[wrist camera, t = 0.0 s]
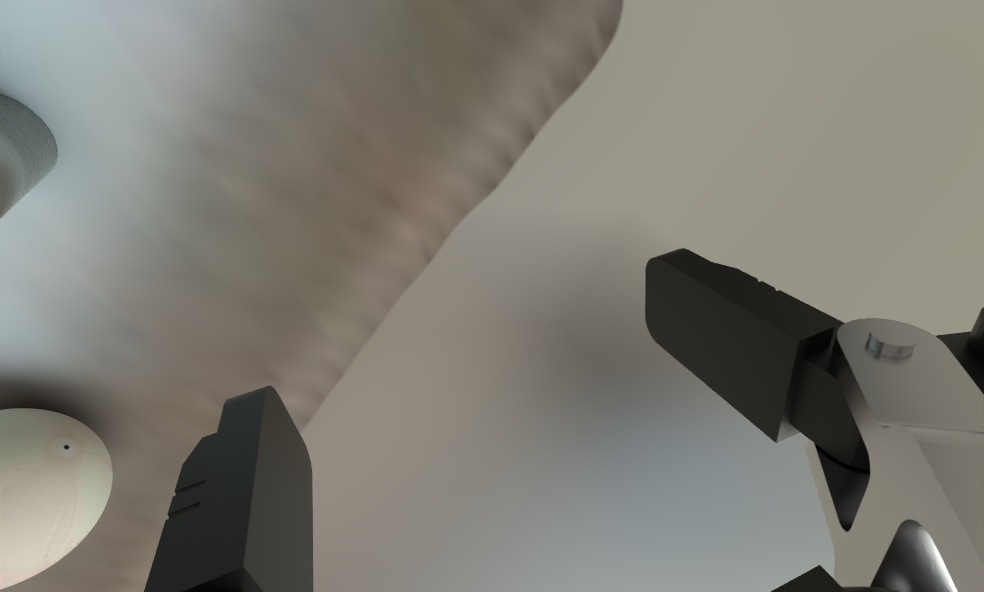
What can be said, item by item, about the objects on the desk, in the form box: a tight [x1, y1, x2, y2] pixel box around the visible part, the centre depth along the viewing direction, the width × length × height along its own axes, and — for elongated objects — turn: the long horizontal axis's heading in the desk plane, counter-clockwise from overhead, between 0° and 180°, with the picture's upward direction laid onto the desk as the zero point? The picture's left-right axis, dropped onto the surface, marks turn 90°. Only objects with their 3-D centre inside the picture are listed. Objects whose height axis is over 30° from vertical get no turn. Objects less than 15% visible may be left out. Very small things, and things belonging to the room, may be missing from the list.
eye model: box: [0, 408, 113, 589], centre depth 27 cm, size 10×10×10 cm
